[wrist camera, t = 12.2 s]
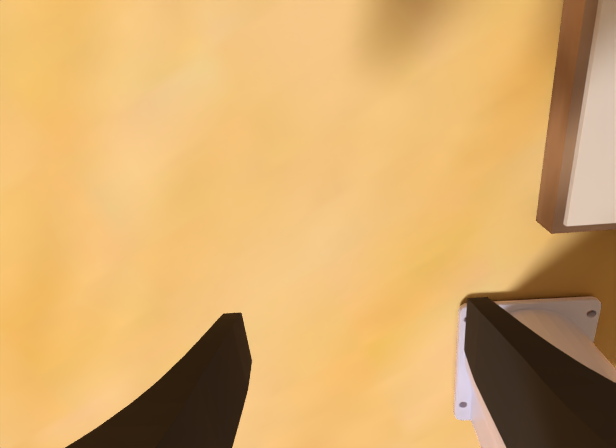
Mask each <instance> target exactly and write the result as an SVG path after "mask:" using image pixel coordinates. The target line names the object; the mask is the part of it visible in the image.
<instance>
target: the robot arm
mask: <svg viewBox="0 0 616 448" xmlns="http://www.w3.org/2000/svg"><path fill="white" fill-rule="evenodd" d="M601 306H602V305H601V302H600V301H599V300H598V299H597V298H596V297H593V296H587V297H568V298H548V299H529V300H510V301H492V300H491V299H489V298H488V297H483V298H467V303H464V304H462V305H461V306H460V307H459V310H458V331H457V352H456V372H455V393H454V415H455V417H456V418H457V419H458V420H471V422H472V424H473V427H474V430H475V433H476V435H477V438H478V441H479V443H480V446H481V448H616V368H615V367H614V366H613V365H612V364H611V363H610V362H609V361H608V359H607V358H606V357H605V356H604V355H603V354H602V353H601V352H600V350H599V349H598V348H597V347H596V346H595V345H594V344H593V343H594V338H595V334H596V329H597V324H598V320H599V315H600V311H601ZM591 310H592V311H591ZM589 311H591V312H590V313H587V312H589ZM465 317H466V319H464V318H465ZM251 364H252V359H251V354H250V350H249V345H248V341H247V336H246V332H245V327H244V322H243V318H242V313H227V314H223V315H222V316H221V317H220V318H219V319H218V320H217V321H216V322H215V323H214V324H213V325H212V327H211V328H210V329H209V330H208V331H207V332H206V333H205V334H204V335H203V336H202V337H201V339H200V340H199V341H198V342H197V343H196V344H195V345H194V346H193V347H192V348H191V349H190V350H189V351H188V352H187V353H186V355H185V356H184V357H183V358H182V359H180V360H179V361H178V362H177V363H176V364H175V365H174V366H173V367H172V368H171V369H170V370H169V371H168V372H167V373H166V374H165V375H164V376H163V377H162V378H161V379H160V380H158V381H157V382H156V383H155V384H154V385H153V386H152V387H150V388H149V389H148V390H147V391H146V392H144V393H143V394H142V395H141V396H139V397H138V398H137V399H136V400H135V401H133V402H132V403H131V404H129V405H128V406H127V407H125V408H124V409H123V410H121V411H120V412H118V413H117V414H116V415H114V416H113V417H111V418H110V419H109V420H107V421H106V422H104V423H103V424H102V425H100V426H99V427H97V428H96V429H94V430H93V431H91V432H90V433H88V434H86V435H85V436H83V437H82V438H80V439H79V440H77V441H75V442H74V443H72V444H70V445H69V446H67V447H65V448H232V446H233V443H234V439H235V435H236V432H237V428H238V425H239V421H240V417H241V414H242V410H243V406H244V403H245V399H246V395H247V391H248V385H249V379H250V371H251ZM461 402H463V403H461Z"/></svg>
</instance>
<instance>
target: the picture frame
mask: <svg viewBox="0 0 616 448" xmlns="http://www.w3.org/2000/svg"><path fill="white" fill-rule="evenodd" d="M536 221H537V222H538V223H539V224H540V225H542V226H543V227H544V228H545V229H546V230H548V231H549V232H550V233H551V234H554V233H569V232H584V231H598V230H613V229H616V0H564V4H563V12H562V20H561V28H560V36H559V44H558V52H557V59H556V67H555V75H554V83H553V91H552V99H551V107H550V114H549V122H548V130H547V138H546V146H545V154H544V162H543V169H542V177H541V185H540V193H539V201H538V209H537V217H536Z"/></svg>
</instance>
